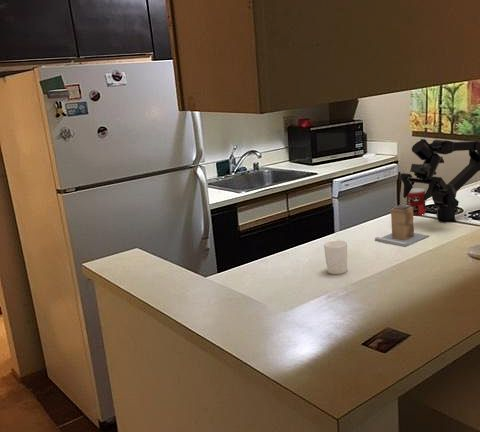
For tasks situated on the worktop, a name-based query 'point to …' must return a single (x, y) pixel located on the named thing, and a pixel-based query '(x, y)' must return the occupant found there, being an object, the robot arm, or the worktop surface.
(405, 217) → the wooden tall block
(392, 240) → the grey flat slab
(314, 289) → the worktop surface
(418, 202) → the canned food
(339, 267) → the white cup
